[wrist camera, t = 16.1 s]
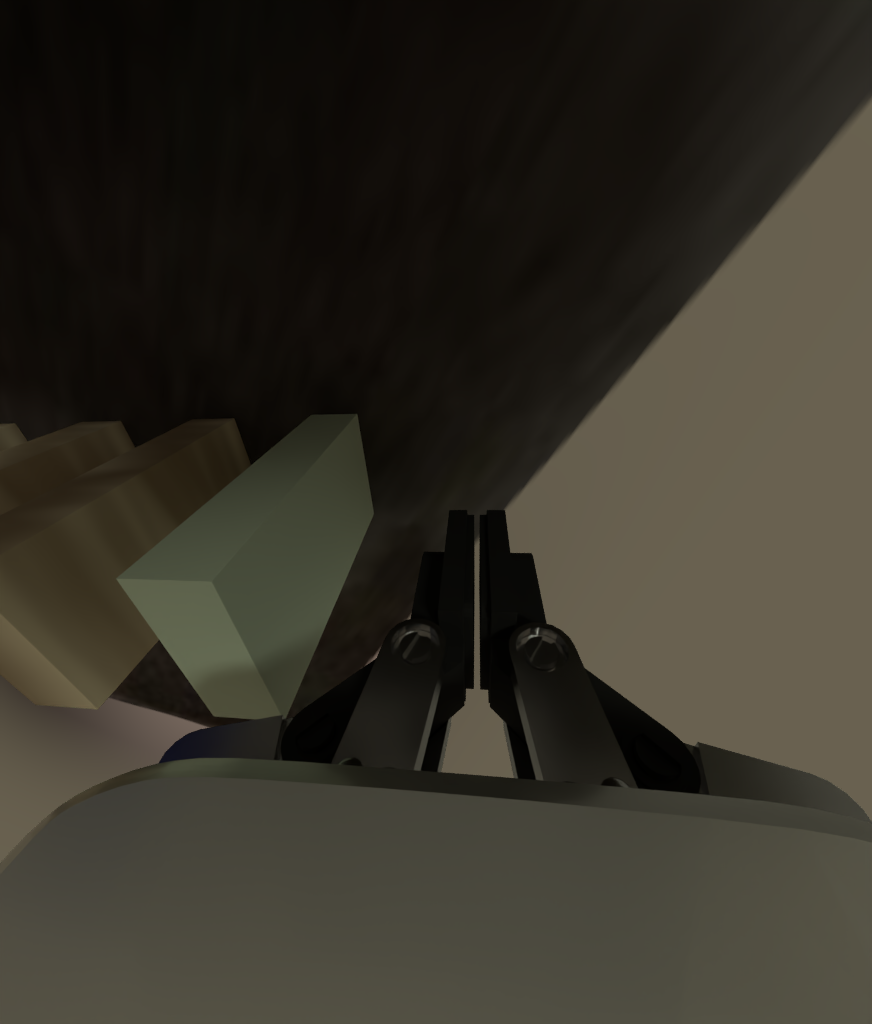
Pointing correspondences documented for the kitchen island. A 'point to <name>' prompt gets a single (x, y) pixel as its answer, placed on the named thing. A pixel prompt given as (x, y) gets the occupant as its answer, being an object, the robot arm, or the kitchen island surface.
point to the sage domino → (260, 570)
